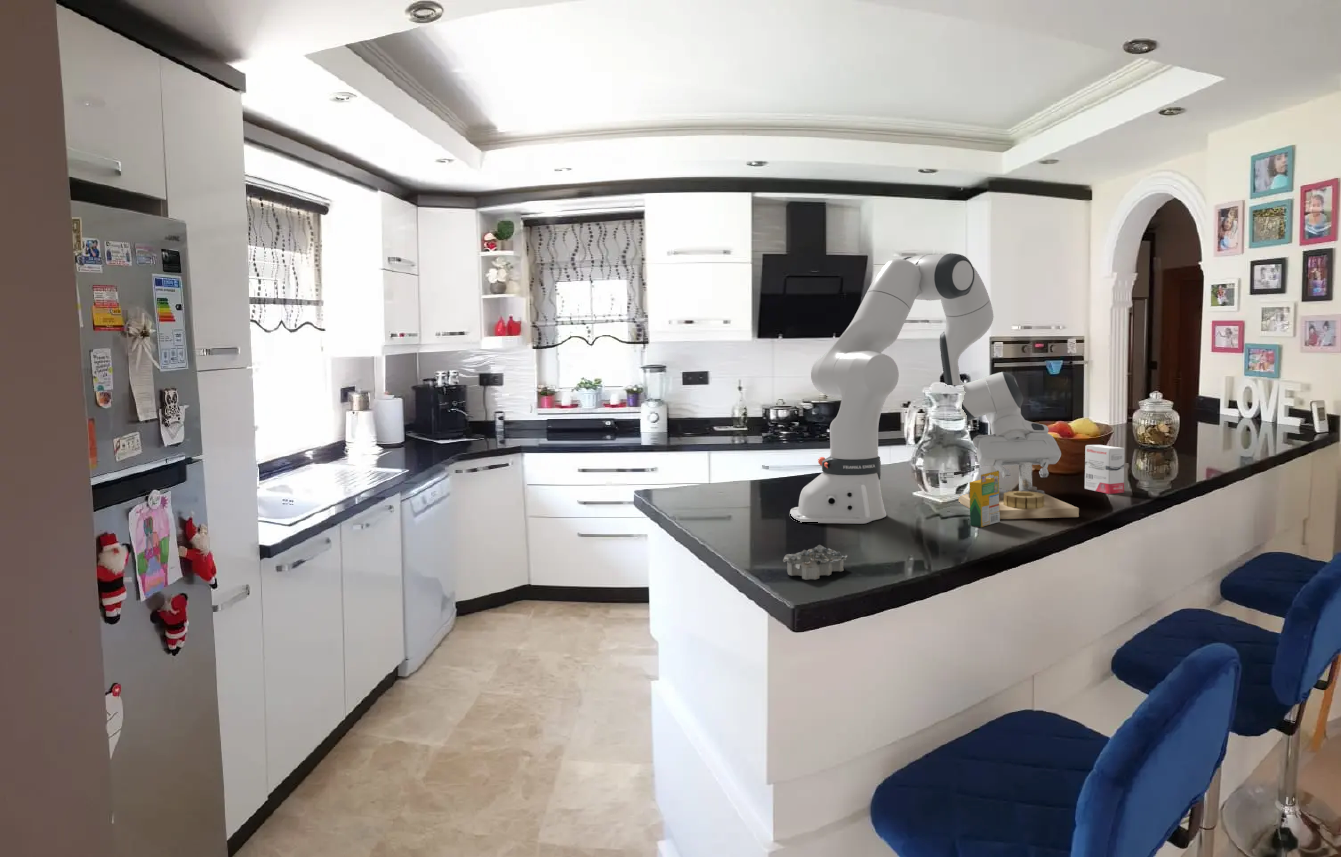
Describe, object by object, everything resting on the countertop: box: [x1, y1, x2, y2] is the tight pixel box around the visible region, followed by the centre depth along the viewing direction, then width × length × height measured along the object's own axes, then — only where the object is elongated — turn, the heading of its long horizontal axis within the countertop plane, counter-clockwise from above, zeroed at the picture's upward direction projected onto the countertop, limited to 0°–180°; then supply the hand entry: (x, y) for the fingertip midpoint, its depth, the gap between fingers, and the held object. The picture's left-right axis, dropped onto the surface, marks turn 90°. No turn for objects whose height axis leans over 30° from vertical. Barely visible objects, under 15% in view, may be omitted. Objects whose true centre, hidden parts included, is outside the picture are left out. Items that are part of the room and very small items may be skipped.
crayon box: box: [968, 470, 1001, 528], centre depth 165 cm, size 7×3×12 cm, turn 126°
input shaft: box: [1018, 461, 1033, 491], centre depth 191 cm, size 3×3×9 cm
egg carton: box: [782, 544, 848, 580], centre depth 135 cm, size 11×8×4 cm
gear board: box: [958, 485, 1080, 520], centre depth 178 cm, size 20×20×4 cm
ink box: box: [1084, 444, 1125, 495], centre depth 195 cm, size 8×5×12 cm, turn 13°
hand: (1025, 476), depth 191 cm, fingers open, 8 cm apart
